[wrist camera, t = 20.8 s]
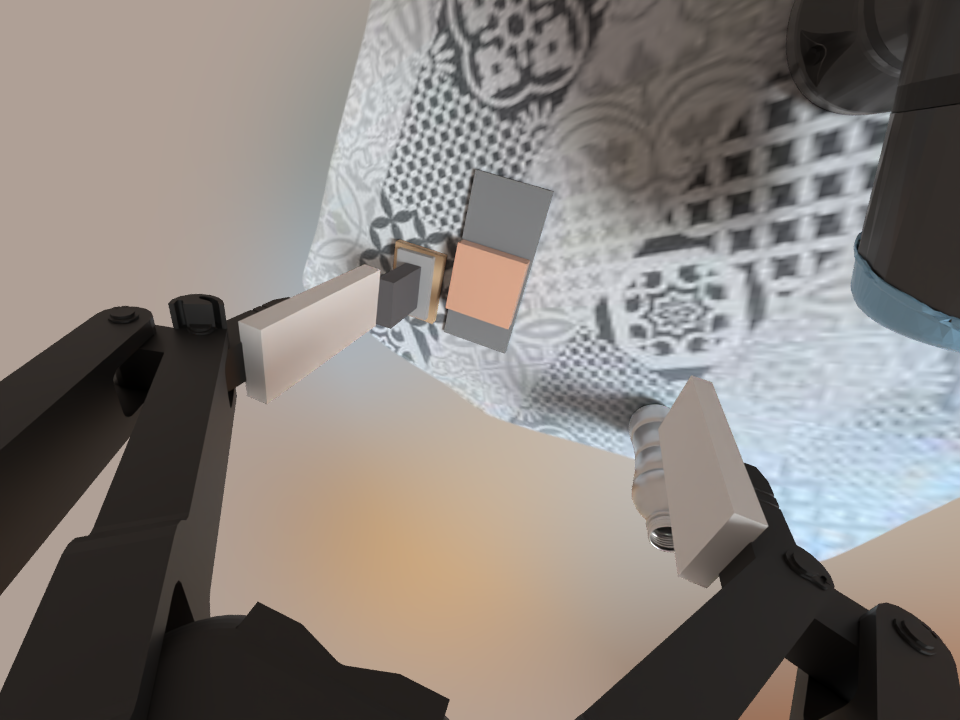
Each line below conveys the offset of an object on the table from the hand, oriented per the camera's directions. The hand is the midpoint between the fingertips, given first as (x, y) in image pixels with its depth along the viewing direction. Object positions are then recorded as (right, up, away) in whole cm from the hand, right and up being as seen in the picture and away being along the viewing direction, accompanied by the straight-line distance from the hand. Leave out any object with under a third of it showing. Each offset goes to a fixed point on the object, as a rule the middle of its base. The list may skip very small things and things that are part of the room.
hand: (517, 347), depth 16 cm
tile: (0, +13, +32) cm, 35 cm away
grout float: (-11, +10, +38) cm, 41 cm away
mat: (0, +11, +35) cm, 37 cm away
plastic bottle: (+23, -8, +38) cm, 45 cm away
